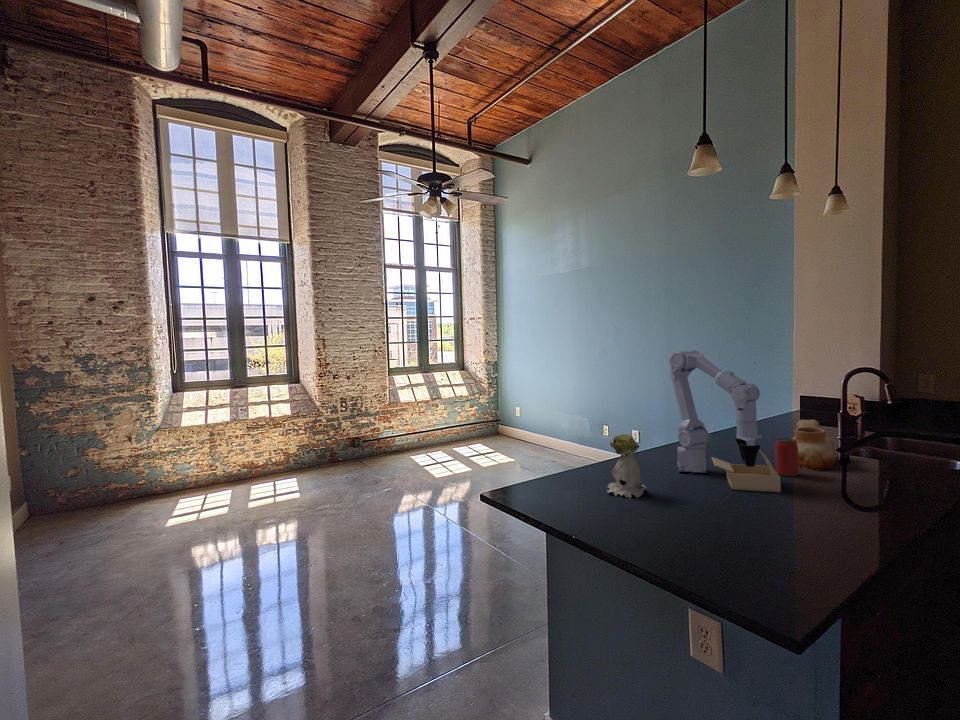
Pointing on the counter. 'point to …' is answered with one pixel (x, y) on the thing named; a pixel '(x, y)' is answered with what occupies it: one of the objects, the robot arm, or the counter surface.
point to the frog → (626, 468)
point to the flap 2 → (767, 461)
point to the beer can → (786, 457)
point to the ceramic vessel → (813, 445)
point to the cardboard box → (753, 478)
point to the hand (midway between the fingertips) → (748, 463)
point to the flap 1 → (722, 464)
